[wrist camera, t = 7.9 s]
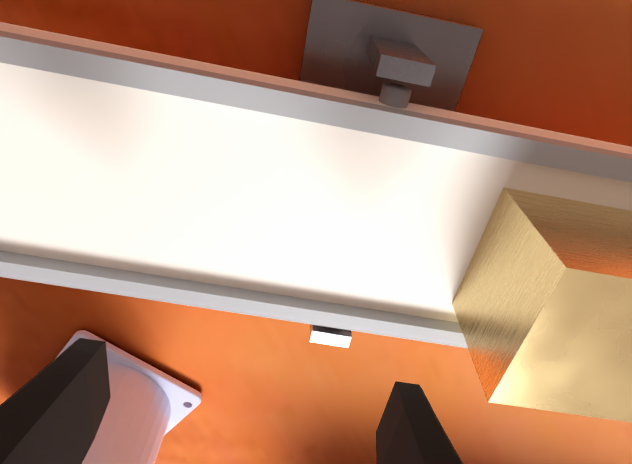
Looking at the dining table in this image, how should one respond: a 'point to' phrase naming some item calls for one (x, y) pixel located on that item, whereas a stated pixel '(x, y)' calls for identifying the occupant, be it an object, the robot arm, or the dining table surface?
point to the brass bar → (552, 306)
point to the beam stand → (385, 65)
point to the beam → (260, 186)
